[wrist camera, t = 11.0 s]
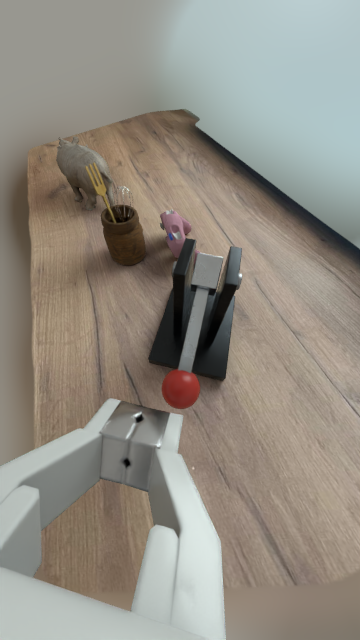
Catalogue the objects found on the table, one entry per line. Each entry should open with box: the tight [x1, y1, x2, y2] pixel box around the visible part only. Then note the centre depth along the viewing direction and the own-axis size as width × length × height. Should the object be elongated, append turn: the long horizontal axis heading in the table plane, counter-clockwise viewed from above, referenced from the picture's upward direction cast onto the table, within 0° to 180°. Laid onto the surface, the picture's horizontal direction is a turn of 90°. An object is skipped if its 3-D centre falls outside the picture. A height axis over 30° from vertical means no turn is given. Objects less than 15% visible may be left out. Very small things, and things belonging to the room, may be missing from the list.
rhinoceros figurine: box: [56, 137, 115, 210], centre depth 37 cm, size 8×14×15 cm
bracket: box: [148, 238, 242, 381], centre depth 20 cm, size 12×9×12 cm
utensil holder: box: [85, 163, 146, 265], centre depth 27 cm, size 6×6×12 cm
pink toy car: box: [160, 209, 200, 265], centre depth 31 cm, size 10×5×7 cm
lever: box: [162, 253, 223, 409], centre depth 16 cm, size 13×3×3 cm, turn 168°
